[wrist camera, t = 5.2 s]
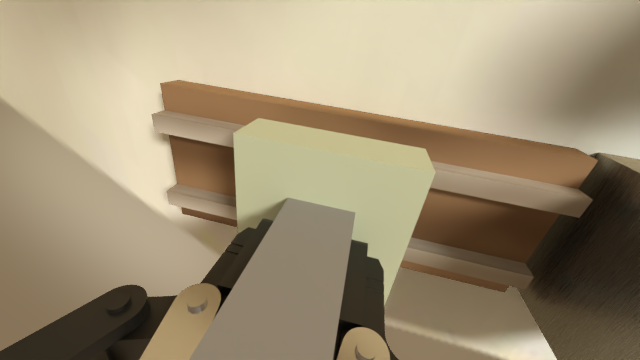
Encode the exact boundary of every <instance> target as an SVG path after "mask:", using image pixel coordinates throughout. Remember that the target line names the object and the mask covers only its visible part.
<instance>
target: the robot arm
mask: <svg viewBox="0 0 640 360" xmlns="http://www.w3.org/2000/svg"><path fill="white" fill-rule="evenodd" d="M273 222H274V221H273V220H269V219H265V218H263V219H262V220H261V222H260V223H259V225H258V226H257V228H256V229H254V228H250V227H248V228H246V229H245V230H243V231H242V232H240V233H238V234H237V236H236V237H235V238H234V240H233V241H232V242H231V245H229V246H228V248H227V249H226V251H225V252H224V253H223V254H222V256H221V257H220V258H219V259H218V261H217V262H216V264H215V265H214V266H213V267H212V269H211V270H210V271H209V273H208V274H207V275H206V277H205V278H204V279H203V281H202V282H201V283H200V284H195V285H192V286H190V287H188V288H186V289H185V290H183V291H182V292H181V293H180V294H179V295H176V296H163V297H147V293H146V291H145V289H143V288H142V287H140V286H137V285H125V286H121V287H118V288H115V289H113V290H111V291H109V292H107V293H105V294H103V295H102V296H100V297H98V298H96V299H94V300H92V301H91V302H89V303H87V304H85V305H83V306H82V307H80V308H78V309H76V310H74V311H73V312H71V313H69V314H67V315H65V316H64V317H62V318H60V319H58V320H56V321H54V322H53V323H51V324H49V325H47V326H45V327H43V328H42V329H40V330H38V331H36V332H34V333H33V334H31V335H29V336H27V337H25V338H24V339H22V340H20V341H18V342H16V343H14V344H13V345H11V346H9V347H7V348H5V349H4V350H2V351H0V360H189V359H190V357H191V356H192V354H193V352H194V351H195V349H196V347H197V346H198V344H199V342H200V341H201V339H202V338H203V336H204V334H205V333H206V331H207V329H208V328H209V326H210V325H211V323H212V321H213V320H214V318H215V316H216V315H217V313H218V311H219V310H220V308H221V307H222V305H223V303H224V302H225V300H226V298H227V297H228V295H229V293H230V292H231V290H232V289H233V287H234V285H235V284H236V282H237V280H238V279H239V277H240V276H241V274H242V272H243V271H244V269H245V267H246V266H247V264H248V262H249V261H250V259H251V258H252V256H253V254H254V253H255V251H256V249H257V248H258V246H259V245H260V243H261V241H262V240H263V238H264V236H265V235H266V233H267V231H268V230H269V228H270V227H271V225H272V223H273ZM367 252H368V243H365V242H361V241H356V240H352V239H351V245H350V252H349V258H348V265H347V271H346V278H345V284H344V291H343V297H342V304H341V310H340V317H339V323H338V330H337V336H336V343H335V349H334V356H333V360H398V359H397V358H396V357H395V355H394V354H393V353H392V351H391V350H390V348H389V346H388V344H387V342H386V338H385V331H384V270H383V268H382V266H381V263H380V261H379V259H376V258H372V257H368V256H367Z"/></svg>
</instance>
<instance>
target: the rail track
mask: <svg viewBox="0 0 640 360" xmlns="http://www.w3.org/2000/svg"><path fill="white" fill-rule="evenodd" d="M160 84H161V90H162V96H163V102H164V108H165V110H164V111H161V112H158V113H154V114H152V119H153V124H154V129H155V132H159V133H164V134H169V137H170V143H171V149H172V154H173V160H174V166H175V172H176V178H177V185H175V186H174V187H172V188H171V189H169V190H168V191H167V194H168V199H169V204H172V205H176V206H180V207H182V213H183V214H186V215H190V216H194V217H199V218H203V219H207V220H211V221H215V222H219V223H223V224H227V225H231V226H235V227H237V207H236V185H235V162H234V140H233V133H234V132H236V131H237V130H239V129H241V128H242V127H244V126H246V125H248V124H249V123H251V122H253V121H254V120H256V119H258V118H262V119H267V120H273V121H278V122H284V123H289V124H294V125H300V126H305V127H311V128H316V129H321V130H327V131H332V132H338V133H343V134H348V135H354V136H359V137H365V138H370V139H375V140H381V141H386V142H392V143H397V144H402V145H408V146H413V147H419V148H424V149H426V151H427V153H428V156H429V158H430V160H431V163H432V165H433V167H434V170H435V172H436V173H435V176H434V178H433V181H432V183H431V186H430V189H429V191H428V194H427V196H426V199H425V202H424V204H423V207H422V210H421V212H420V215H419V217H418V220H417V223H416V225H415V228H414V230H413V233H412V236H411V238H410V241H409V243H408V246H407V249H406V251H405V254H404V257H403V259H402V262H401V264H400V267H403V268H407V269H412V270H416V271H420V272H424V273H428V274H432V275H436V276H440V277H444V278H448V279H453V280H457V281H461V282H465V283H469V284H473V285H477V286H481V287H485V288H489V289H494V290H498V291H502V292H505V291H506V289H507V288H508V287H509V286H512V287H517V288H521V289H525V288H526V287H527V286H528V284H529V283H530V282H531V280H532V279H533V278H534V276H533V275H532V273H531V272H530V270H529V269H528V267H527V266H526V264H525V263H526V261H527V260H528V259H529V257H530V256H531V254H532V253H533V252H534V250H535V249H536V247H537V246H538V245H539V243H540V242H541V240H542V239H543V237H544V236H545V235H546V233H547V232H548V230H549V229H550V228H551V226H552V225H553V223H554V222H555V221H556V219H557V218H558V216H559V215H560V214H563V215H568V216H573V217H578V218H580V216H581V215H582V214H583V212H584V211H585V210H586V208H587V207H588V206H589V204H590V203H591V202H592V201H593V199H591V198H590V197H588V196H587V195H586V194H584V193H583V192H582V191H580V190H579V189H578V188H579V187H580V185H581V184H582V183H583V181H584V180H585V178H586V177H587V176H588V174H589V173H590V171H591V170H592V169H593V167H594V166H595V164H596V163H597V162H598V160H596V159H595V158H593V157H591V156H589V155H587V154H585V153H583V152H581V151H579V150H578V149H574V148H569V147H563V146H557V145H551V144H545V143H540V142H534V141H528V140H522V139H516V138H511V137H505V136H499V135H493V134H488V133H482V132H476V131H470V130H464V129H459V128H453V127H447V126H441V125H435V124H430V123H424V122H418V121H412V120H406V119H401V118H395V117H389V116H383V115H378V114H372V113H366V112H360V111H354V110H349V109H343V108H337V107H331V106H325V105H320V104H314V103H308V102H302V101H296V100H291V99H285V98H279V97H273V96H267V95H262V94H256V93H250V92H244V91H239V90H233V89H227V88H221V87H215V86H210V85H204V84H198V83H192V82H186V81H181V80H177V81H171V82H165V83H160Z"/></svg>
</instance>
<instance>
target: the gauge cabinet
mask: <svg viewBox="0 0 640 360" xmlns="http://www.w3.org/2000/svg"><path fill="white" fill-rule="evenodd" d="M595 159H596V160H598V162H597V163H596V164H595V166H594V167H593V169H592V170H591V171H590V173H589V174H588V176H587V177H586V178H585V180H584V181H583V183H582V184H581V185H580V187H579V188H578V189H579V190H580V191H582V192H583V193H584V194H586V195H587V196H588V197H590V198H591V199H593V201H592V202H591V203H590V204H589V206H588V207H587V208H586V210H585V211H584V212H583V214H582V215H581V216H580V218H578V217H573V216H568V215H563V214H560V215H559V216H558V218H557V219H556V221H555V222H554V223H553V225H552V226H551V228H550V229H549V230H548V232H547V233H546V235H545V236H544V237H543V239H542V240H541V242H540V243H539V245H538V246H537V247H536V249H535V250H534V252H533V253H532V254H531V256H530V257H529V259H528V260H527V261H526V263H525V264H526V266H527V267H528V269H529V270H530V272H531V273H532V275H533V276H534V278H533V279H532V280H531V282H530V283H529V284H528V286H527V287H526V288H525V289H521V288H517V289H518V290H519V292H520V294H521V296H522V298H523V299H524V301H525V303H526V305H527V306H528V308H529V310H530V312H531V314H532V315H533V317H534V319H535V321H536V323H537V324H538V326H539V328H540V330H541V331H542V333H543V335H544V337H545V339H546V340H547V342H548V344H549V346H550V348H551V349H552V351H553V353H554V355H555V356H556V358H557V360H640V160H638V159H632V158H627V157H621V156H615V155H609V154H603V153H598V154H597V155H596V157H595Z"/></svg>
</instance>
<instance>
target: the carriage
mask: <svg viewBox="0 0 640 360" xmlns="http://www.w3.org/2000/svg"><path fill="white" fill-rule="evenodd" d="M233 140H234V162H235V185H236V207H237V229H238V233H240V232H242V231H243V230H245V229H246V228H248V227H250V228H254V229H256V228H257V226H258V225H259V223H260V222H261V220H262V219H263V218H265V219H269V220H273V221H274V222H273V223H272V225H271V227H270V228H269V230H268V231H267V233H266V235H265V236H264V238H263V240H262V241H261V243H260V245H259V246H258V248H257V249H256V251H255V253H254V254H253V256H252V258H251V259H250V261H249V262H248V264H247V266H246V267H245V269H244V271H243V272H242V274H241V276H240V277H239V279H238V280H237V282H236V284H235V285H234V287H233V289H232V290H231V292H230V293H229V295H228V297H227V298H226V300H225V302H224V303H223V305H222V307H221V308H220V310H219V311H218V313H217V315H216V316H215V318H214V320H213V321H212V323H211V325H210V326H209V328H208V329H207V331H206V333H205V334H204V336H203V338H202V339H201V341H200V342H199V344H198V346H197V347H196V349H195V351H194V352H193V354H192V356H191V357H190V359H189V360H333V356H334V349H335V343H336V336H337V330H338V323H339V317H340V310H341V304H342V297H343V291H344V284H345V278H346V271H347V265H348V258H349V252H350V245H351V239H352V240H356V241H361V242H365V243H368V252H367V256H368V257H372V258H376V259H379V261H380V263H381V266H382V268H383V270H384V306H385V303H386V301H387V298H388V296H389V293H390V290H391V288H392V285H393V283H394V280H395V277H396V275H397V272H398V270H399V267H400V264H401V262H402V259H403V257H404V254H405V251H406V249H407V246H408V243H409V241H410V238H411V236H412V233H413V230H414V228H415V225H416V223H417V220H418V217H419V215H420V212H421V210H422V207H423V204H424V202H425V199H426V196H427V194H428V191H429V189H430V186H431V183H432V181H433V178H434V176H435V173H436V172H435V170H434V167H433V165H432V163H431V160H430V158H429V156H428V153H427V151H426V149H424V148H419V147H413V146H408V145H402V144H397V143H392V142H386V141H381V140H375V139H370V138H365V137H359V136H354V135H348V134H343V133H338V132H332V131H327V130H321V129H316V128H311V127H305V126H300V125H294V124H289V123H284V122H278V121H273V120H267V119H262V118H258V119H256V120H254V121H253V122H251V123H249V124H248V125H246V126H244V127H242V128H241V129H239V130H237V131H236V132H234V133H233Z"/></svg>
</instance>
